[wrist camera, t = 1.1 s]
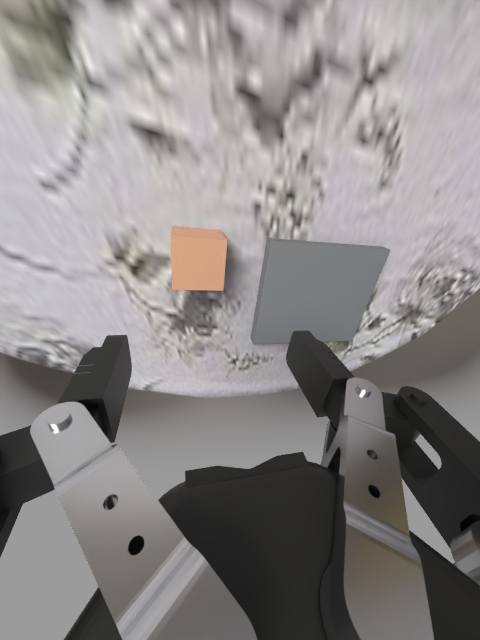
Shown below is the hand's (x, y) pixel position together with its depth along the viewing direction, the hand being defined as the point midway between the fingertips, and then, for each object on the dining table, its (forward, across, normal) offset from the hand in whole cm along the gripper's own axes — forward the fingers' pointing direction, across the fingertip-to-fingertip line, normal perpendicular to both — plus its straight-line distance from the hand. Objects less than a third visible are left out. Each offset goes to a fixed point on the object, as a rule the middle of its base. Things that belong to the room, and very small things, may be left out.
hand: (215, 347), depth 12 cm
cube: (+18, 0, 0) cm, 18 cm away
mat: (+18, -16, +5) cm, 24 cm away
